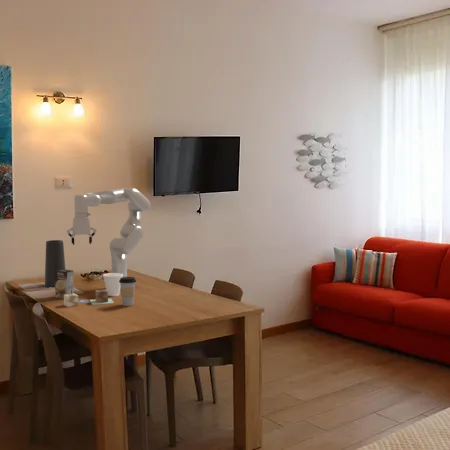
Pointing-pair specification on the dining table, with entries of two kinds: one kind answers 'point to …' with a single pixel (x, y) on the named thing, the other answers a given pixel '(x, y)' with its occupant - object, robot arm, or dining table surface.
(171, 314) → the dining table surface
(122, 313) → the dining table surface
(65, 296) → the maple block
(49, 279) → the vase
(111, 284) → the cup
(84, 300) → the tile
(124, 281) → the coffee cup
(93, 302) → the mat
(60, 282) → the coffee box
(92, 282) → the dining table surface
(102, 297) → the walnut block
